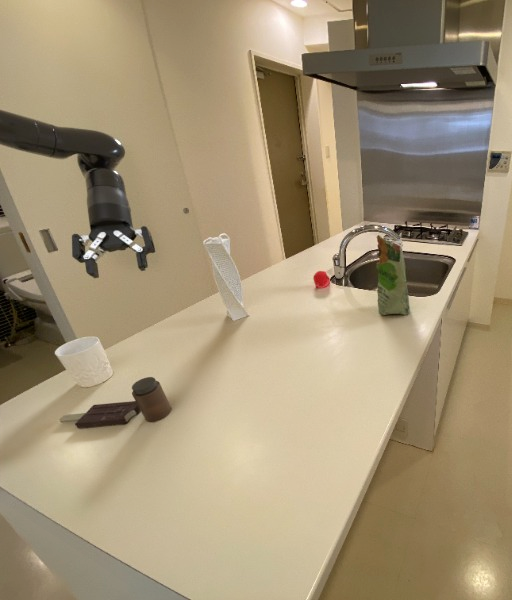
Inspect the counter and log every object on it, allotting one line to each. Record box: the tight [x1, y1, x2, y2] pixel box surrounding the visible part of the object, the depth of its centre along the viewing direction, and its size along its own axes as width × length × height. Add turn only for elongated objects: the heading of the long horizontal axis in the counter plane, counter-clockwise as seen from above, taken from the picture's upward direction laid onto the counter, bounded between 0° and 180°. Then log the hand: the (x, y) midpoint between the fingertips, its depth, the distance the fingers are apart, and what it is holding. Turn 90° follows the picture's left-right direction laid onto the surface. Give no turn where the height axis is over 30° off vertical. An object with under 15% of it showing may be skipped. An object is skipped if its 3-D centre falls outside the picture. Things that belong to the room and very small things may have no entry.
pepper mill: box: [131, 376, 172, 423], centre depth 69 cm, size 5×5×8 cm
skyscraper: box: [202, 232, 250, 322], centre depth 101 cm, size 8×8×28 cm
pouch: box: [376, 234, 411, 316], centre depth 103 cm, size 11×12×25 cm
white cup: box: [54, 335, 114, 388], centre depth 79 cm, size 8×8×10 cm
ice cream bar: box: [58, 400, 141, 429], centre depth 69 cm, size 5×2×15 cm
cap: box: [312, 270, 331, 290], centre depth 126 cm, size 8×6×6 cm
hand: (119, 272), depth 72 cm, fingers open, 8 cm apart
